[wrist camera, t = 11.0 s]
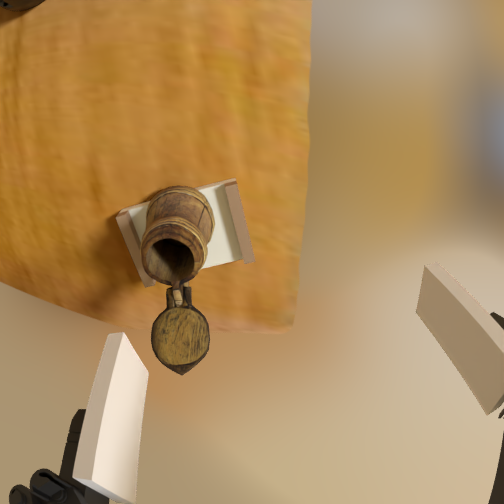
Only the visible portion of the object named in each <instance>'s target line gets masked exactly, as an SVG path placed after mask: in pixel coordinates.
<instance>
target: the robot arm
mask: <svg viewBox="0 0 504 504" xmlns="http://www.w3.org/2000/svg"><path fill="white" fill-rule="evenodd" d="M43 1H44V0H0V6H1V7H2V8H5V9H8V10H11V11H23V10H27V9H29V8H32V7H34V6H36V5H38V4H40V3H41V2H43ZM416 313H417V314H418V316H419V317H420V318H421V320H422V321H423V322H424V324H425V325H426V326H427V328H428V329H429V330H430V332H431V333H432V334H433V336H434V337H435V338H436V340H437V341H438V343H439V344H440V345H441V347H442V348H443V350H444V351H445V352H446V354H447V355H448V357H449V358H450V360H451V361H452V362H453V364H454V365H455V367H456V368H457V370H458V371H459V373H460V374H461V375H462V377H463V378H464V380H465V382H466V383H467V384H468V386H469V388H470V389H471V391H472V392H473V394H474V395H475V397H476V399H477V400H478V402H479V403H480V405H481V407H482V408H483V410H484V411H485V413H486V415H489V414H490V413H492V412H493V411H494V410H496V409H497V408H499V407H500V406H501V405H502V403H503V402H504V318H503V317H501V316H499V315H498V314H496V313H494V312H493V313H491V314H489V313H488V312H487V311H486V310H485V309H484V308H483V307H482V306H481V305H480V303H479V302H478V301H477V300H476V299H475V298H474V297H473V296H472V295H471V294H470V293H469V292H468V291H467V290H466V289H465V288H464V287H463V286H462V285H461V284H460V283H459V282H458V281H457V280H456V279H455V278H454V277H453V276H452V275H451V274H450V273H449V272H447V270H445V269H444V268H443V267H442V266H441V265H440V264H439V263H438V262H435V263H432V264H428V265H425V266H424V272H423V278H422V284H421V289H420V295H419V300H418V305H417V309H416ZM148 375H149V373H148V371H147V369H146V368H145V366H144V365H143V363H142V362H141V360H140V359H139V357H138V355H137V353H136V352H135V350H134V349H133V347H132V345H131V343H130V342H129V340H128V338H127V337H126V335H125V333H124V332H120V333H113V334H108V337H107V340H106V343H105V347H104V350H103V353H102V357H101V359H100V363H99V366H98V369H97V373H96V376H95V380H94V383H93V387H92V390H91V394H90V398H89V401H88V405H87V409H79V410H78V411H77V413H76V414H75V416H74V417H73V419H72V422H71V425H70V430H69V432H70V433H69V434H68V437H67V443H66V446H65V450H64V455H63V460H62V465H61V470H60V474H59V476H58V475H56V474H55V473H53V472H52V471H50V470H48V469H40V470H37V471H36V472H35V473H34V474H33V475H32V477H31V480H30V489H28V488H27V487H25V486H23V485H16V486H14V487H13V488H12V490H11V491H10V495H9V503H10V504H109V499H111V500H113V501H115V502H118V503H125V504H136V486H137V472H138V459H139V448H140V438H141V428H142V419H143V411H144V403H145V395H146V388H147V382H148ZM503 415H504V409H503V410H502V412H501V413H500V415H499V418H501V417H502V416H503ZM488 504H504V433H503V440H502V447H501V453H500V459H499V463H498V468H497V473H496V477H495V481H494V485H493V489H492V493H491V496H490V500H489V503H488Z"/></svg>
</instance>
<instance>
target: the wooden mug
mask: <svg viewBox="0 0 504 504" xmlns="http://www.w3.org/2000/svg"><path fill="white" fill-rule="evenodd" d="M214 227H215V219H214V214H213V210H212V208H211V206H210V204H209V202H208V200H207V199H206V197H205V195H203V194H202V193H201V192H199V191H198V190H197V189H194V188H191V187H188V186H172V187H168V188H166V189H163V190H161V191H160V192H159V193H157V194H156V195H155V196H154V197H153V198H152V200H151V201H150V203H149V205H148V208H147V211H146V229H145V232H144V234H143V236H142V240H141V246H140V254H141V260H142V265H143V268H144V271H145V272H146V273H147V275H148V276H149V277H151V278H152V279H154V280H156V281H158V282H160V283H163V284H166V285H171V286H172V287H170V288H167V291H166V298H167V308H166V309H165V310H164V311H163V312H162V313H160V314H159V316H158V317H157V318H156V320H155V321H154V323H153V326H152V332H151V344H152V348H153V351H154V353H155V355H156V357H157V358H158V359H159V361H160V362H161V363H162V364H163V365H165V366H166V367H167V368H169V369H171V370H172V371H174V372H176V373H178V374H180V375H184V374H185V373H186V372H188V371H189V370H191V369H192V368H193V367H194V366H195V365H197V364H198V363H199V362H200V361H201V360H202V359H203V358H204V357H205V355H206V354H207V352H208V350H209V343H210V335H209V325H208V322H207V320H206V318H205V316H204V315H203V314H202V313H201V312H200V311H198V310H197V309H196V308H195V307H194V306H192V300H191V287H189V281H190V280H191V279H193V278H194V277H195V276H196V275H197V273H198V272H199V271H200V270H201V268H202V267H203V265H204V264H205V261H206V258H207V255H208V248H207V245H208V243H209V242H210V241H211V238H212V235H213V232H214Z"/></svg>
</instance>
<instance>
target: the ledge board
mask: <svg viewBox="0 0 504 504" xmlns="http://www.w3.org/2000/svg"><path fill="white" fill-rule="evenodd" d="M194 189H197V190H198V191H199V192H201V193H202V194H203V195H205V197H206V199H207V200H208V202H209V204H210V206H211V208H212V210H213V214H214V219H215V227H214V232H213V235H212V238H211V241H210V242H209V243H208V245H207V248H208V255H207V258H206V261H205V264H204V265H203V267H202V268H201V269H203V268H207V267H211V266H215V265H220V264H224V263H228V262H232V261H236V260H240V259H243V260H244V264H247V263H252V262H255V257H254V253H253V249H252V245H251V241H250V236H249V232H248V228H247V224H246V220H245V216H244V211H243V207H242V203H241V199H240V195H239V190H238V186H237V182H236V178H233V179H229V180H225V181H221V182H217V183H213V184H209V185H205V186H201V187H197V188H194ZM149 203H150V201H148V202H144V203H141V204H138V205H135V206H131V207H128V208H125V209H122V210H121V211H120V212H119V214H118V215H117V216H116V220H117V223H118V225H119V228H120V230H121V233H122V235H123V238H124V240H125V243H126V245H127V248H128V250H129V252H130V255H131V257H132V259H133V262H134V264H135V266H136V268H137V271H138V273H139V275H140V277H141V280H142V282H143V284H144V286H145V287H150V286H154V285H155V282H156V280H154V279H152V278H151V277H149V276H148V275H147V273H146V272H145V271H144V268H143V265H142V260H141V254H140V246H141V240H142V236H143V234H144V232H145V229H146V211H147V208H148V205H149Z"/></svg>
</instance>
